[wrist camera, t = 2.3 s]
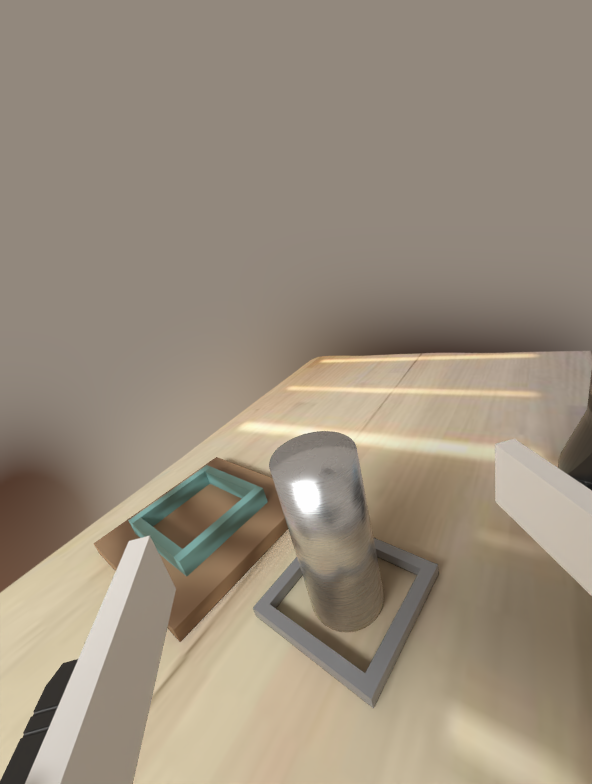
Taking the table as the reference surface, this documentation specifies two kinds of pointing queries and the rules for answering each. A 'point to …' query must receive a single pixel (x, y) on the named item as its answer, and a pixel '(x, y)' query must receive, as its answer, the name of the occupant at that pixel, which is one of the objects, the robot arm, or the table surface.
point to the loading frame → (392, 644)
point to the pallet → (204, 535)
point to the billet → (330, 527)
